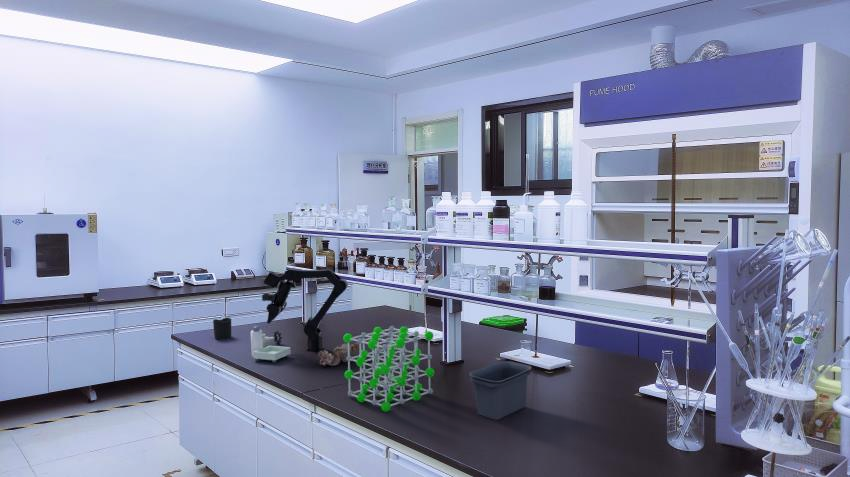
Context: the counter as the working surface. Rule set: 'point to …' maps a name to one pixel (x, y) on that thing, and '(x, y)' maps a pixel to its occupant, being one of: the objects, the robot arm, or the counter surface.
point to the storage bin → (500, 388)
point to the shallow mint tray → (271, 353)
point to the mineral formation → (337, 354)
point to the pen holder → (222, 328)
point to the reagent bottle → (256, 339)
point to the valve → (271, 338)
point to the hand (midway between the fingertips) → (270, 321)
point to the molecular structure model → (388, 365)
